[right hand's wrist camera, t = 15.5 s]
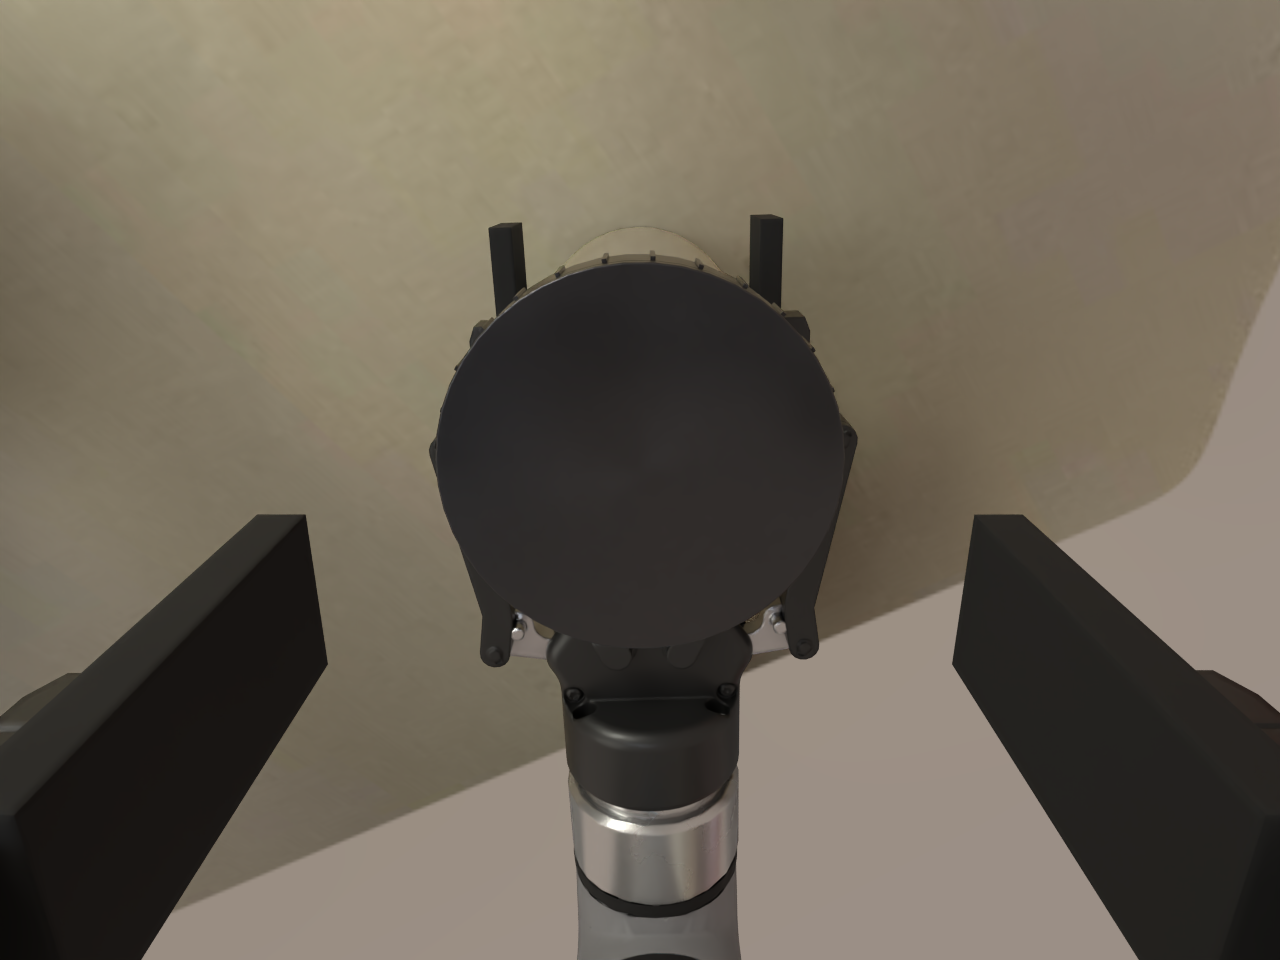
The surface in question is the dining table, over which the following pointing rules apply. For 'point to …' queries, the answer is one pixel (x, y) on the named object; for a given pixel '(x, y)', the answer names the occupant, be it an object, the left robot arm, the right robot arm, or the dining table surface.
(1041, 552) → the right robot arm
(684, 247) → the jar
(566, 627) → the lid
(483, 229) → the dining table surface
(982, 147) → the dining table surface
